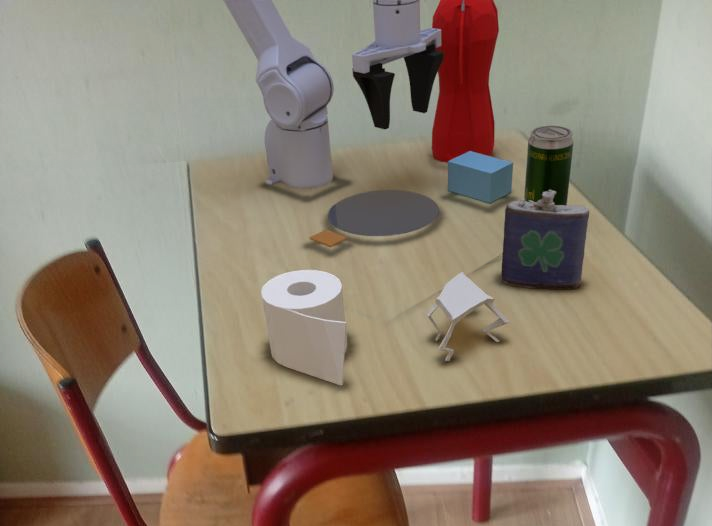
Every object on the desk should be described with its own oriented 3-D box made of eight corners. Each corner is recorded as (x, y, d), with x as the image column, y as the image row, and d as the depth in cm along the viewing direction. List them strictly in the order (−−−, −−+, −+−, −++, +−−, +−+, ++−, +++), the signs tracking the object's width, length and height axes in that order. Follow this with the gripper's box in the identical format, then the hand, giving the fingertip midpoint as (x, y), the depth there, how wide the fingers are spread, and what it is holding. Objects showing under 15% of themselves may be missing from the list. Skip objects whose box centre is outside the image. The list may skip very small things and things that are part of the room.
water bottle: (427, 173, 120) (425, -25, 103) (436, 147, 128) (435, -41, 111) (490, 174, 119) (497, -27, 102) (495, 147, 126) (503, -43, 109)
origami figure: (515, 357, 83) (518, 314, 79) (435, 366, 82) (434, 323, 79) (490, 301, 91) (492, 260, 88) (417, 309, 91) (416, 268, 87)
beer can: (572, 229, 104) (584, 131, 95) (544, 242, 101) (553, 143, 93) (541, 217, 107) (550, 121, 99) (513, 229, 104) (519, 132, 96)
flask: (581, 280, 94) (593, 188, 86) (578, 292, 92) (590, 199, 84) (502, 273, 96) (507, 183, 89) (498, 285, 94) (502, 194, 86)
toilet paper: (341, 385, 80) (335, 324, 76) (255, 356, 85) (244, 296, 80) (386, 347, 85) (382, 287, 80) (302, 321, 90) (294, 263, 85)
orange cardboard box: (310, 246, 104) (309, 237, 103) (326, 238, 105) (325, 229, 105) (331, 254, 102) (330, 245, 101) (348, 246, 103) (347, 237, 103)
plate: (305, 223, 109) (304, 216, 108) (381, 188, 117) (381, 181, 116) (386, 253, 101) (385, 246, 101) (461, 214, 109) (461, 206, 108)
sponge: (447, 197, 113) (447, 161, 110) (469, 186, 116) (469, 150, 112) (489, 210, 109) (491, 173, 106) (511, 199, 112) (513, 162, 108)
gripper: (379, 16, 92) (385, 140, 101) (459, -9, 99) (459, 109, 108) (336, 10, 96) (346, 130, 105) (416, -14, 103) (420, 101, 112)
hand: (401, 119), depth 107 cm, fingers open, 7 cm apart
